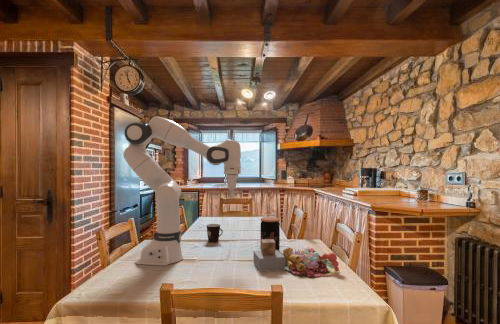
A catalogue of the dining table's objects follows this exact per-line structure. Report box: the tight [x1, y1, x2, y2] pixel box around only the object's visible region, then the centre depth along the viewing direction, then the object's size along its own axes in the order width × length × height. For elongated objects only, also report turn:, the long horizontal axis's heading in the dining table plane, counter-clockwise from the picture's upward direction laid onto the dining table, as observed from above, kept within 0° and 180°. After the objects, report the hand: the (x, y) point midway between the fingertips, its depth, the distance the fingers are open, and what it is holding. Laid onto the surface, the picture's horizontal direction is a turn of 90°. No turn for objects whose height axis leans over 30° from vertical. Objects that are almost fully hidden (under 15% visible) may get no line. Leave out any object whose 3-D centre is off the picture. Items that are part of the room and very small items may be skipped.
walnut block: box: [260, 238, 275, 256], centre depth 134 cm, size 6×6×6 cm
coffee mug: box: [206, 223, 224, 243], centre depth 176 cm, size 12×9×10 cm
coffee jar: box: [260, 216, 281, 252], centre depth 157 cm, size 11×11×18 cm
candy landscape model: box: [282, 246, 340, 278], centre depth 131 cm, size 25×24×9 cm
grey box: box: [252, 249, 286, 272], centre depth 134 cm, size 12×12×6 cm
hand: (232, 196), depth 148 cm, fingers open, 8 cm apart
